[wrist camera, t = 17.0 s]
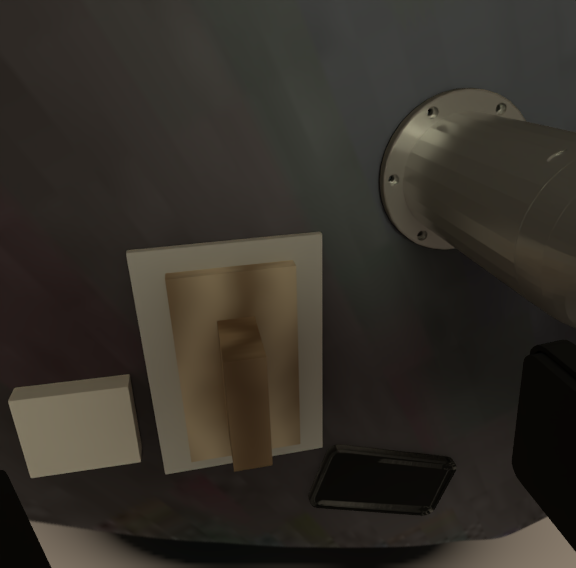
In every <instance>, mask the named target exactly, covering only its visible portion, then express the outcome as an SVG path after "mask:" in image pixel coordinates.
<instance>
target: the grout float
mask: <svg viewBox="0 0 576 568" xmlns="http://www.w3.org/2000/svg"><path fill="white" fill-rule="evenodd" d="M165 283H166V290H167V297H168V304H169V311H170V318H171V325H172V331H173V338H174V345H175V352H176V359H177V366H178V373H179V380H180V387H181V394H182V401H183V408H184V414H185V421H186V428H187V435H188V442H189V449H190V456H191V462H196V461H202V460H208V459H214V458H220V457H226V456H232V460H233V467H234V472H236V471H241V470H247V469H253V468H259V467H265V466H270V465H273V463H272V449H274V448H280V447H286V446H292V445H298V444H300V404H299V362H298V320H297V278H296V264H295V263H294V261H293V260H288V261H279V262H269V263H260V264H250V265H241V266H231V267H222V268H212V269H202V270H193V271H183V272H174V273H165Z"/></svg>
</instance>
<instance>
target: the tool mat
mask: <svg viewBox="0 0 576 568" xmlns="http://www.w3.org/2000/svg"><path fill="white" fill-rule="evenodd" d="M126 256H127V262H128V267H129V273H130V279H131V284H132V290H133V295H134V301H135V307H136V312H137V318H138V323H139V329H140V335H141V340H142V346H143V351H144V357H145V363H146V368H147V374H148V380H149V385H150V391H151V396H152V402H153V408H154V413H155V419H156V424H157V430H158V436H159V441H160V447H161V453H162V458H163V464H164V469H165V474H171V473H177V472H182V471H188V470H194V469H200V468H206V467H212V466H218V465H223V464H229V463H233V460H232V456H226V457H220V458H214V459H208V460H202V461H196V462H191V456H190V449H189V442H188V435H187V428H186V421H185V414H184V408H183V401H182V394H181V387H180V380H179V373H178V366H177V359H176V352H175V345H174V338H173V331H172V325H171V318H170V311H169V304H168V297H167V290H166V283H165V273H174V272H183V271H193V270H202V269H212V268H222V267H231V266H241V265H250V264H260V263H269V262H279V261H288V260H293V261H294V263H295V264H296V278H297V320H298V362H299V404H300V444H298V445H292V446H286V447H280V448H274V449H272V456H276V455H282V454H288V453H294V452H300V451H305V450H311V449H317V448H323V445H322V233H321V232H310V233H300V234H289V235H279V236H269V237H259V238H248V239H238V240H228V241H218V242H207V243H197V244H187V245H177V246H166V247H156V248H146V249H136V250H127V251H126Z"/></svg>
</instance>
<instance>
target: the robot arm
mask: <svg viewBox="0 0 576 568" xmlns="http://www.w3.org/2000/svg"><path fill="white" fill-rule="evenodd" d="M496 107H497V109H496ZM429 109H430V113H429V114H428V115H427V112H428V110H429ZM391 175H392V179H391V180H389V177H390V176H391ZM388 180H389V181H388ZM380 193H381V199H382V202H383V206H384V209H385V211H386V213H387V215H388V217H389V219H390V220H391V222H392V223H393V224H394V226H395V227H396V228H397V229H398V230H399V231H400V232H401V233H402V234H404V235H405V236H406V237H407V238H408V239H410V240H411V241H413V242H415V243H416V244H419V245H421V246H425V247H428V248H431V249H442V250H447V249H457V250H459V251H460V252H461V253H463V254H464V255H466V256H467V257H468V258H470V259H471V260H473V261H474V262H475V263H477V264H478V265H480V266H481V267H482V268H484V269H485V270H487V271H488V272H489V273H491V274H492V275H493V276H495V277H496V278H498V279H499V280H500V281H502V282H503V283H505V284H506V285H507V286H509V287H510V288H512V289H513V290H514V291H516V292H517V293H519V294H520V295H521V296H523V297H524V298H526V299H527V300H528V301H530V302H531V303H532V304H534V305H536V306H537V307H539V308H540V309H541V310H543V311H544V312H546V313H547V314H548V315H550V316H552V317H553V318H555V319H557V320H558V321H560V322H562V323H564V324H567V325H569V326H571V327H574V328H576V132H572V131H567V130H562V129H558V128H553V127H549V126H544V125H539V124H535V123H530V122H526V120H525V119H524V117H523V115H522V114H521V112H520V111H519V110H518V109H517V108H516V107H515V106H514V105H513V104H512V103H511V102H510V101H509V100H508V99H506V98H504V97H503V96H501V95H499V94H497V93H494V92H491V91H488V90H484V89H477V88H458V89H453V90H449V91H445V92H442V93H440V94H438V95H435V96H433V97H431V98H429V99H427V100H426V101H424V102H423V103H422V104H420V105H419V106H418V107H416V108H415V109H414V110H413V111H412V112H411V113H410V114H409V115H408V116H407V117H406V118H405V119H404V120H403V121H402V122H401V124H400V125H399V127H398V128H397V130H396V131H395V132H394V134H393V135H392V137H391V140H390V142H389V144H388V146H387V148H386V150H385V154H384V157H383V161H382V165H381V171H380ZM419 232H420V233H419ZM418 233H419V234H418ZM512 465H513V469H514V472H515V474H516V476H517V478H518V479H519V481H520V482H521V484H522V485H523V486H524V487H525V489H526V490H527V491H528V492H529V494H530V495H531V496H532V497H533V499H534V500H535V501H536V502H537V504H538V505H539V506H540V507H541V509H542V510H543V511H544V512H545V514H546V515H547V516H548V517H549V519H550V520H551V521H552V522H553V524H554V525H555V526H556V527H557V529H558V530H559V531H560V532H561V534H562V535H563V536H564V537H565V539H566V540H567V541H568V543H569V544H570V545H571V546H572V548H573V549H574V550H575V551H576V345H574V344H573V343H571V342H569V341H568V340H559V341H555V342H550V343H545V344H541V345H537V346H534V347H533V348H532V349H531V352H530V355H528V356H526V357H525V359H524V363H523V371H522V380H521V388H520V396H519V405H518V413H517V421H516V430H515V438H514V447H513V455H512ZM0 568H51V566H50V564H49V562H48V560H47V558H46V556H45V553H44V551H43V549H42V547H41V545H40V543H39V541H38V539H37V536H36V534H35V532H34V530H33V528H32V526H31V524H30V522H29V520H28V517H27V515H26V513H25V511H24V509H23V507H22V505H21V503H20V500H19V498H18V496H17V494H16V492H15V490H14V488H13V486H12V483H11V481H10V479H9V477H8V475H7V474H6V472H5V471H3V470H0Z"/></svg>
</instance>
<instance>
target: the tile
mask: <svg viewBox="0 0 576 568" xmlns="http://www.w3.org/2000/svg"><path fill="white" fill-rule="evenodd" d="M8 403H9V406H10V410H11V413H12V416H13V420H14V423H15V427H16V430H17V433H18V437H19V440H20V443H21V447H22V450H23V454H24V457H25V460H26V464H27V467H28V470H29V474H30V477H31V478H36V477H43V476H49V475H56V474H63V473H70V472H76V471H83V470H90V469H97V468H104V467H110V466H117V465H124V464H131V463H138V462H141V454H142V445H141V439H140V433H139V427H138V421H137V415H136V409H135V403H134V397H133V391H132V385H131V379H130V374H127V375H119V376H111V377H102V378H94V379H85V380H77V381H68V382H60V383H52V384H43V385H35V386H26V387H18V388H14V390H13V392H12V394H11V396H10V398H9V400H8Z"/></svg>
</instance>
